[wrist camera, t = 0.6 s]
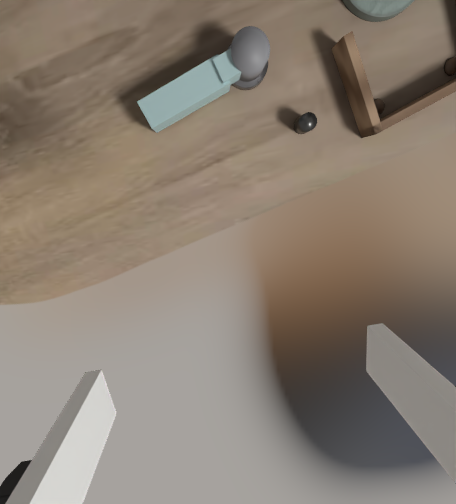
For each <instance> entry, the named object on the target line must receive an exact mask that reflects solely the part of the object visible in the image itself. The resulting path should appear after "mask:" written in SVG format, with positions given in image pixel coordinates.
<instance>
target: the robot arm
mask: <svg viewBox="0 0 456 504" xmlns="http://www.w3.org/2000/svg"><path fill="white" fill-rule="evenodd" d="M366 365H367V366H366V371H367V372H368V374H369V375H370V376H371V377H372V379H373V380H374V381H375V382H376V384H377V385H378V386H379V388H380V389H381V390H382V391H383V393H384V394H385V395H386V396H387V398H388V399H389V400H390V401H391V403H392V404H393V405H394V406H395V408H396V409H397V410H398V411H399V413H400V414H401V415H402V417H403V418H404V419H405V420H406V421H407V423H408V424H409V425H410V427H411V428H412V429H413V430H414V432H415V433H416V434H417V435H418V437H419V438H420V439H421V440H422V442H423V443H424V444H425V445H426V447H427V448H428V449H429V450H430V452H431V453H432V454H433V456H434V457H435V458H436V459H437V461H438V462H439V463H440V464H441V466H442V467H443V468H444V469H445V471H446V472H447V473H448V474H449V476H450V477H451V478H452V480H453V481H454V482H455V483H456V386H454V385H453V384H452V383H450V382H449V381H448V380H447V379H446V378H445V377H444V376H442V375H441V374H440V373H439V372H438V371H437V370H435V369H434V368H433V367H432V366H431V365H430V364H429V363H427V362H426V361H425V360H424V359H423V358H422V357H421V356H419V355H418V354H417V353H416V352H415V351H414V350H412V349H411V348H410V347H409V346H408V345H407V344H406V343H404V342H403V341H402V340H401V339H400V338H399V337H397V336H396V335H395V334H394V333H393V332H392V331H391V330H389V329H388V328H387V327H386V326H385V325H384V324H383V323H382V324H376V325H370V326H368V327H367V361H366ZM115 416H116V410H115V407H114V404H113V401H112V398H111V395H110V393H109V390H108V387H107V384H106V381H105V378H104V375H103V373H102V370H96V371H91V372H85V374H84V376H83V377H82V379H81V381H80V382H79V384H78V385H77V387H76V389H75V391H74V392H73V394H72V395H71V397H70V399H69V400H68V402H67V404H66V405H65V407H64V408H63V410H62V412H61V413H60V415H59V417H58V418H57V420H56V422H55V423H54V425H53V427H52V428H51V430H50V431H49V433H48V435H47V436H46V438H45V440H44V441H43V443H42V444H41V446H40V448H39V449H38V451H37V453H36V455H35V456H34V458H33V459H32V460H29V461H24V462H21V463H20V464H19V465H18V466H17V467H16V468H15V469H14V470H13V471H12V472H11V473H10V474H9V475H8V476H7V477H6V479H5V480H4V481H3V483H2V485H1V486H0V504H83V501H84V498H85V496H86V493H87V491H88V488H89V485H90V483H91V480H92V477H93V475H94V472H95V469H96V467H97V464H98V461H99V459H100V456H101V453H102V451H103V448H104V445H105V443H106V440H107V438H108V435H109V432H110V430H111V427H112V424H113V421H114V419H115Z"/></svg>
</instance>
